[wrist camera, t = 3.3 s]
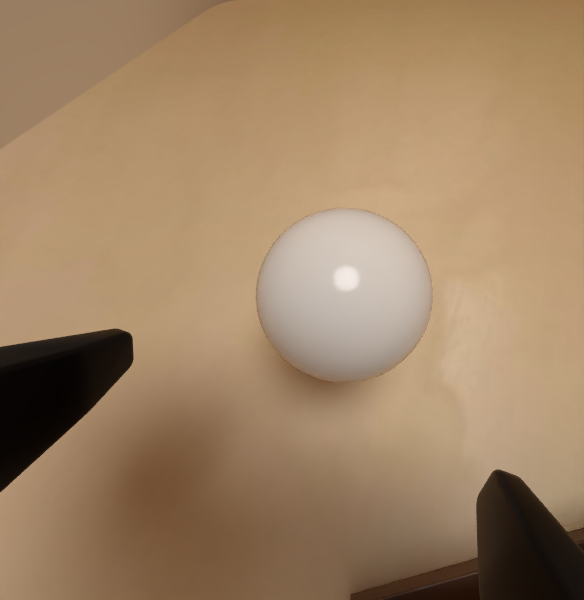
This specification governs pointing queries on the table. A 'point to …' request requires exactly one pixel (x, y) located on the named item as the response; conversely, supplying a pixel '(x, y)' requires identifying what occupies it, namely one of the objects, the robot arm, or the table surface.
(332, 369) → the lightbulb
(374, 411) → the table surface
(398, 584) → the shelf
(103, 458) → the table surface
